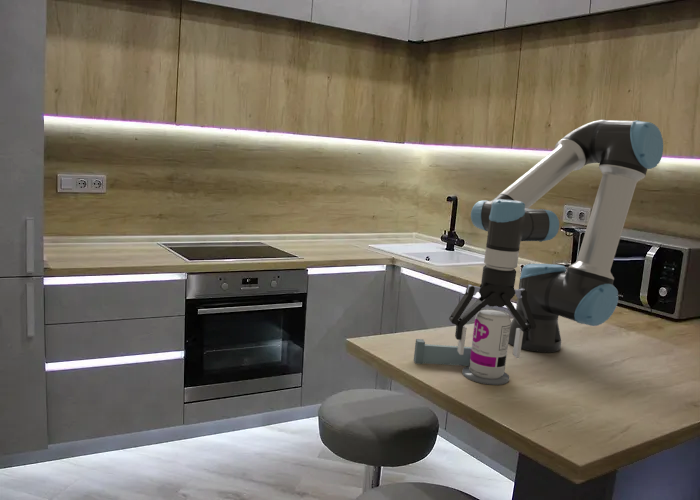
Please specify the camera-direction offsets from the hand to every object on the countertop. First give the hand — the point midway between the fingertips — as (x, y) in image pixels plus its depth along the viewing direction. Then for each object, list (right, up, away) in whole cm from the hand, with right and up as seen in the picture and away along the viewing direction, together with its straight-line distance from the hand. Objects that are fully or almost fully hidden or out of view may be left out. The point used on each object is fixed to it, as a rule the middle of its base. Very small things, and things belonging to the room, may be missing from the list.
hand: (488, 354), depth 152 cm
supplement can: (0, -5, +1) cm, 5 cm away
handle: (-7, -4, +7) cm, 11 cm away
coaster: (-1, -5, +1) cm, 5 cm away
